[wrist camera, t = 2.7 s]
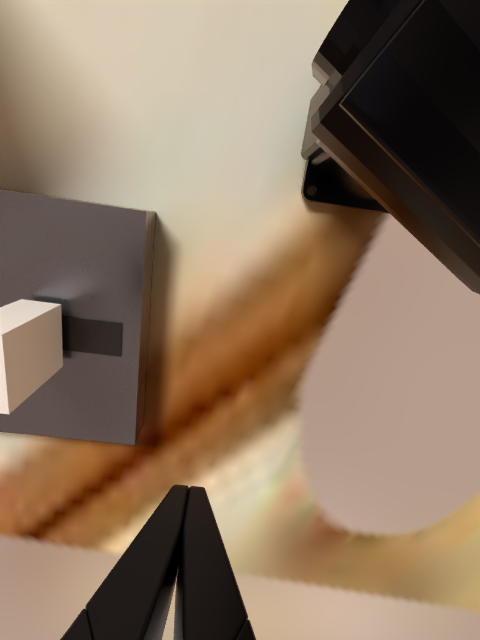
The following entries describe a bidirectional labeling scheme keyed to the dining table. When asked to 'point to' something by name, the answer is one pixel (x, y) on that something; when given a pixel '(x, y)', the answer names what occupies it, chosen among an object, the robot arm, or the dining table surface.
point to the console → (82, 311)
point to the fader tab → (28, 349)
